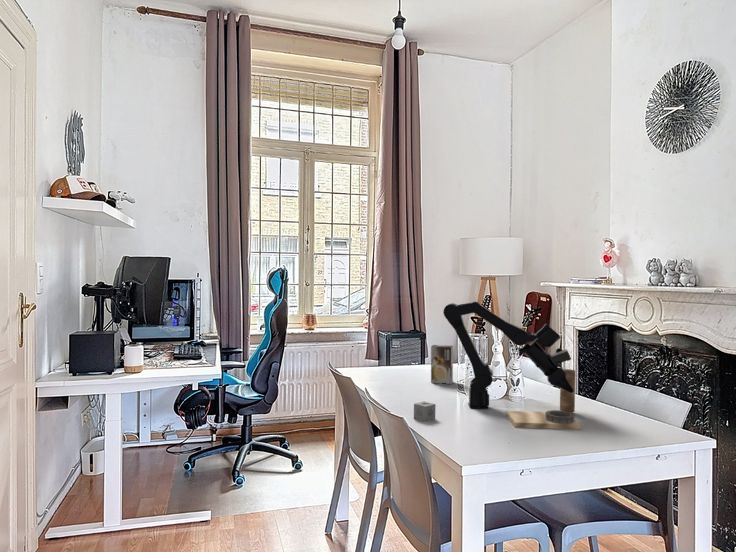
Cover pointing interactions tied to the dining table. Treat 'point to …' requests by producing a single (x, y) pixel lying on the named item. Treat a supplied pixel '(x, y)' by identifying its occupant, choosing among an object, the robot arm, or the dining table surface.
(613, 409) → the dining table surface
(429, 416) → the dice cube
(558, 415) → the oak socket board
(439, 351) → the coffee box
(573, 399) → the walnut post
